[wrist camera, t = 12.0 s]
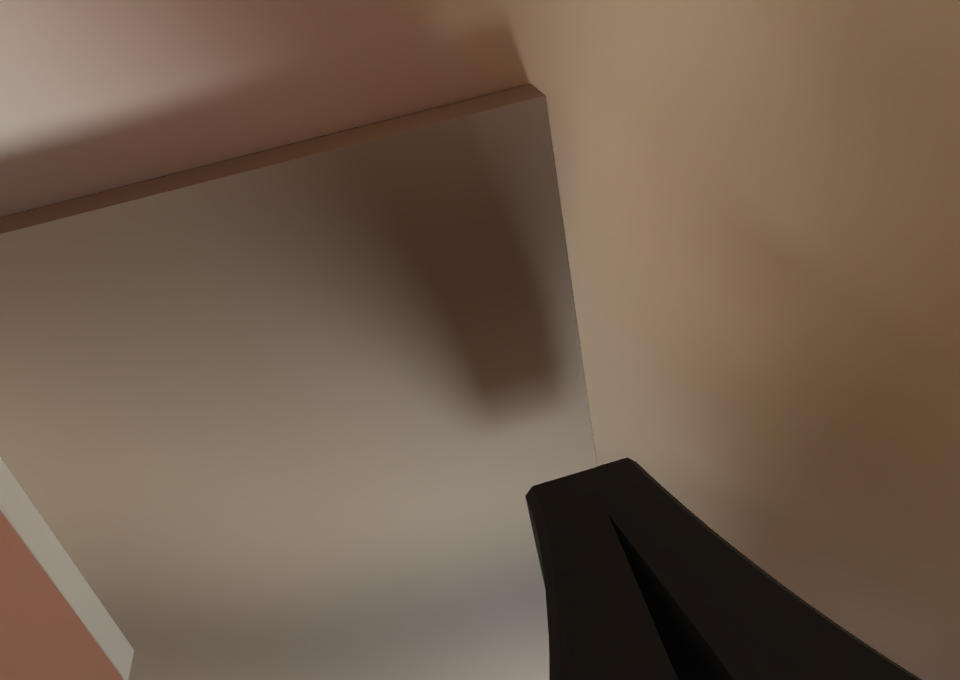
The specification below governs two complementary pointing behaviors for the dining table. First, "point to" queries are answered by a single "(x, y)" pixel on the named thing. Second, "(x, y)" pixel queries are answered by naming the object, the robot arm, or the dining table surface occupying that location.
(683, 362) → the dining table surface
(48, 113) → the dining table surface
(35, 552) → the cream box brown top
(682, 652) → the robot arm
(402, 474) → the shelf
